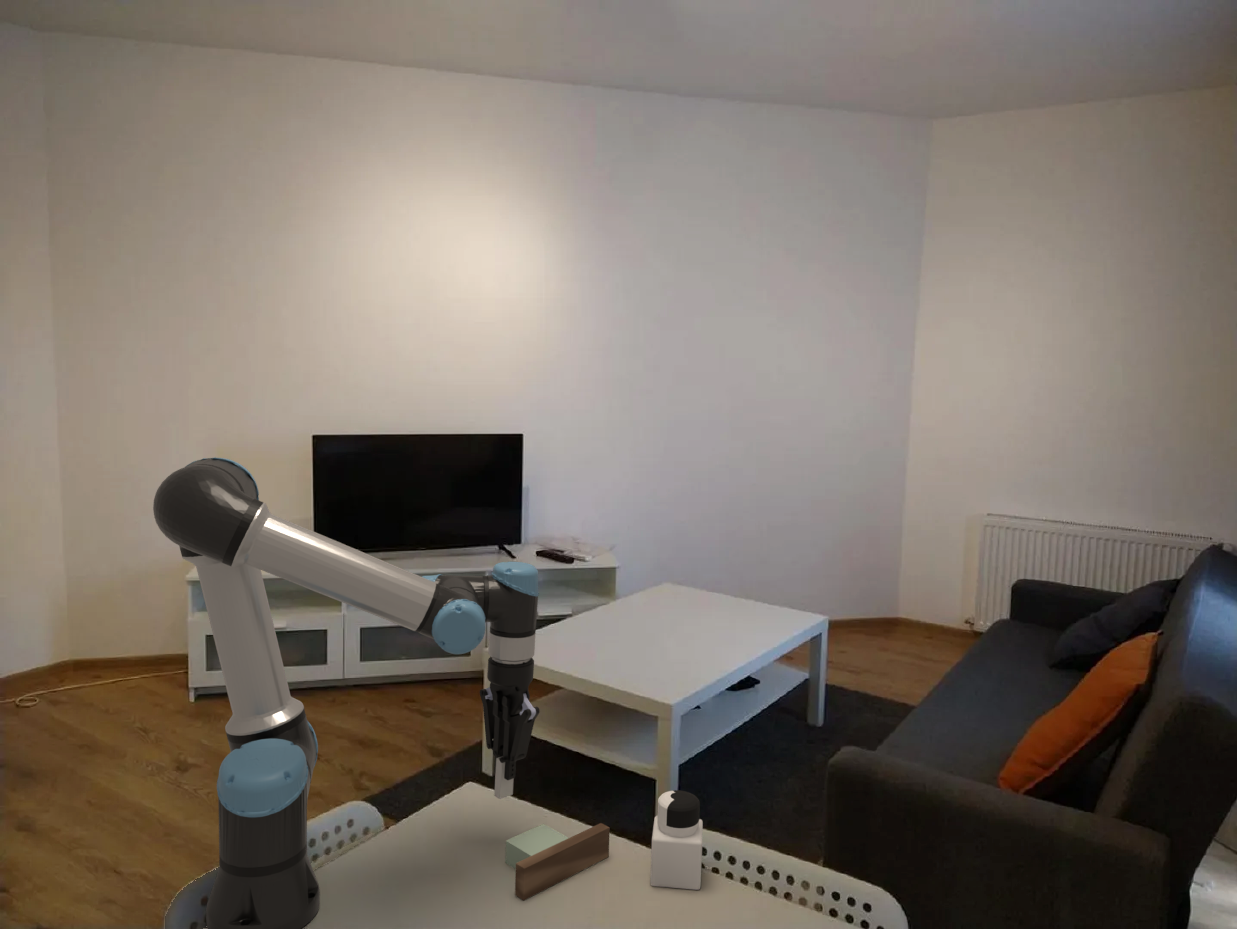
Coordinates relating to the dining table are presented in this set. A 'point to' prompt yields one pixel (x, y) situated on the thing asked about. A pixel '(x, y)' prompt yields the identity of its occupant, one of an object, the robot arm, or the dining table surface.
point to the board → (561, 861)
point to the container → (677, 842)
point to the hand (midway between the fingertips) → (503, 795)
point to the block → (531, 843)
